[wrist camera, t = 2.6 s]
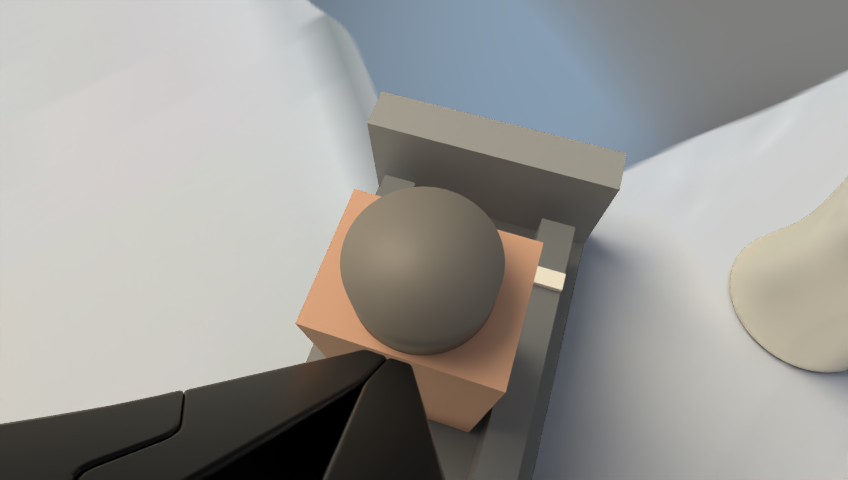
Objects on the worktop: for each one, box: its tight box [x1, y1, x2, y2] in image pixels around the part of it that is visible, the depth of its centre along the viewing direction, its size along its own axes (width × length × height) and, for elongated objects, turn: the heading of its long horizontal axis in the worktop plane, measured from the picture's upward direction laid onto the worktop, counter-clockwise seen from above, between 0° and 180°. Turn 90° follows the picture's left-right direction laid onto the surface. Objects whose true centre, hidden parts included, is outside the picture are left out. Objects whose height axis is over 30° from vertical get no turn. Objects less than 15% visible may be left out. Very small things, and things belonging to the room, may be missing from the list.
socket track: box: [306, 92, 626, 480], centre depth 19 cm, size 12×9×6 cm
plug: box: [296, 187, 543, 433], centre depth 14 cm, size 3×4×11 cm
